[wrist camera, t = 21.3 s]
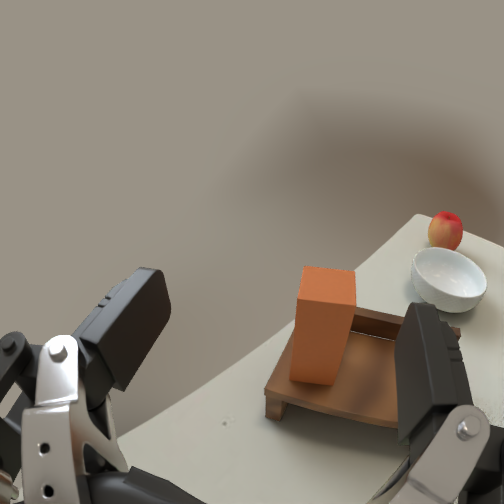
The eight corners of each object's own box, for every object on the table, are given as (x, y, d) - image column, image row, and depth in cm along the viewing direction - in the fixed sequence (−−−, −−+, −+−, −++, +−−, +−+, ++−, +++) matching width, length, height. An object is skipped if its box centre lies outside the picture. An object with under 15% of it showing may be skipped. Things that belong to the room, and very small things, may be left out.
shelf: (263, 420, 35) (264, 373, 29) (297, 348, 45) (303, 294, 39) (423, 456, 27) (465, 416, 21) (430, 378, 37) (460, 328, 31)
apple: (425, 237, 74) (433, 204, 68) (455, 247, 69) (465, 214, 64) (422, 253, 67) (432, 217, 62) (455, 263, 62) (467, 228, 57)
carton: (288, 380, 31) (297, 298, 25) (295, 347, 35) (303, 265, 29) (333, 385, 30) (356, 305, 24) (336, 352, 34) (355, 271, 28)
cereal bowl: (399, 312, 50) (410, 281, 47) (408, 266, 62) (416, 239, 59) (477, 334, 43) (492, 305, 39) (472, 285, 55) (483, 259, 51)
